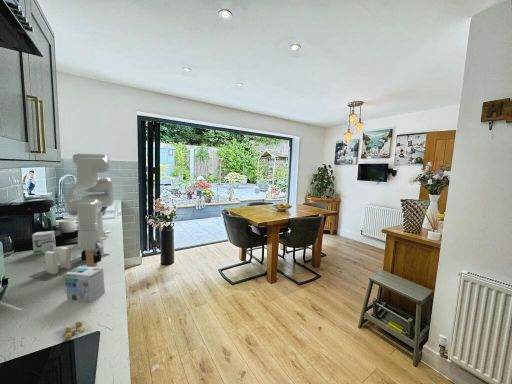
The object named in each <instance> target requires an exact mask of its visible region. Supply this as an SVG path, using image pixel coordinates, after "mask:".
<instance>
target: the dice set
mask: <svg viewBox="0 0 512 384" xmlns="http://www.w3.org/2000/svg"><path fill="white" fill-rule="evenodd" d="M75 326H76V328H73V327H72V326H71V325H70V326H67V327H66V328H65V329H64V330H65V334H64V340H65V341H69V340H72V336H73V335H75V334H77V332H80V333H82V332H85V330H86V328H85V327H84V328H83V321H82V320H79V321H77V322H75Z"/></svg>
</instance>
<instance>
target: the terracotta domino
mask: <svg viewBox="0 0 512 384" xmlns="http://www.w3.org/2000/svg"><path fill="white" fill-rule="evenodd" d="M95 249H96V248H95ZM95 251H96V250H95ZM85 252H86V263H87V264H86V266H88V267H98V263H94V258H93V256H94V253H93V251H91V252H90V251H85Z"/></svg>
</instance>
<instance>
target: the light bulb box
mask: <svg viewBox="0 0 512 384" xmlns="http://www.w3.org/2000/svg"><path fill="white" fill-rule="evenodd" d="M64 278H65V279H64V280H65V281H64V282H65V290H66V291H65V292H66V299H67V300H70V301H76V302H84V303H90V304H91V303H92V302H94V301H95V300H97V299H98V298H99V297H101V296H102V295H104V294H105V293H106V292H105V278H104V268H103V267H99V266H96V267H91V266H87V265H84V266H79V267H77V268H75V269H73V270H71V271H69V272H67V273H64Z"/></svg>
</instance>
